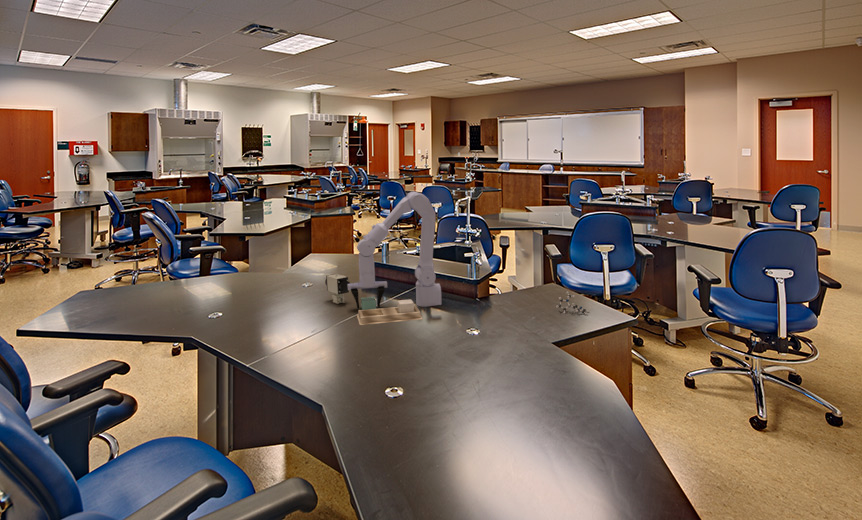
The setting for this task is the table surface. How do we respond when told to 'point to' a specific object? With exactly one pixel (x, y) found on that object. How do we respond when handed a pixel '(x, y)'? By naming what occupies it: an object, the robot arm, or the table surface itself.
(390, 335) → the table surface
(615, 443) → the table surface
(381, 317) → the assembly board
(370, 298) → the teal block
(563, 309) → the molecule model
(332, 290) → the pneumatic valve
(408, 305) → the cream block
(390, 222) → the robot arm
